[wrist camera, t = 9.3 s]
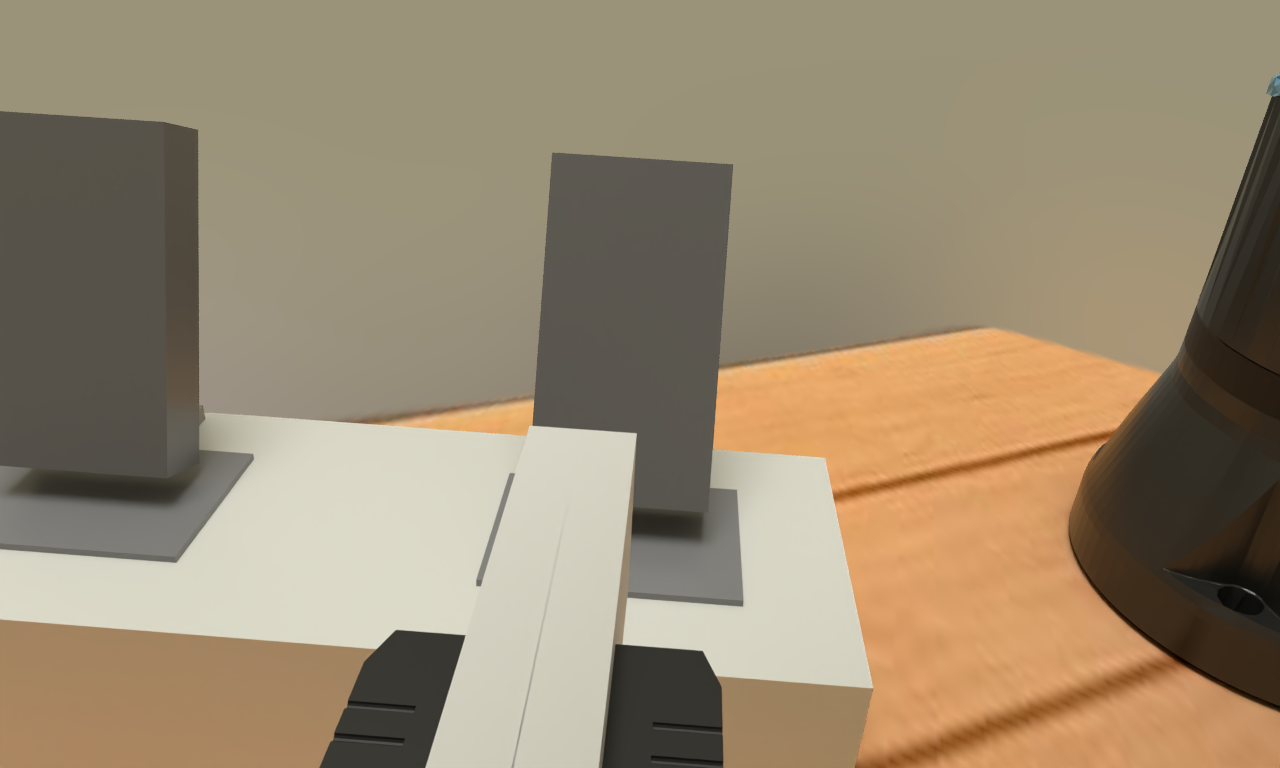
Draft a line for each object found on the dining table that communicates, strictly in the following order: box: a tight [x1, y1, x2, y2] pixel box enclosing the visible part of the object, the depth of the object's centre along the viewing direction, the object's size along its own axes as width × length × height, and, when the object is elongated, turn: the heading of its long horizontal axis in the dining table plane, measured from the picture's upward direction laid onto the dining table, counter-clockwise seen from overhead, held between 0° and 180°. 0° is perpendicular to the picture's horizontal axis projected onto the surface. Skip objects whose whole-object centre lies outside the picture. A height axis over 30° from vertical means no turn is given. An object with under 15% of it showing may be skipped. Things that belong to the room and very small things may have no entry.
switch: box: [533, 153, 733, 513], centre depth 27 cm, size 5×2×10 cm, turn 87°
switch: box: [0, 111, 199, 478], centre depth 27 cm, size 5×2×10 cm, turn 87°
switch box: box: [0, 406, 873, 768], centre depth 29 cm, size 27×10×6 cm, turn 87°
